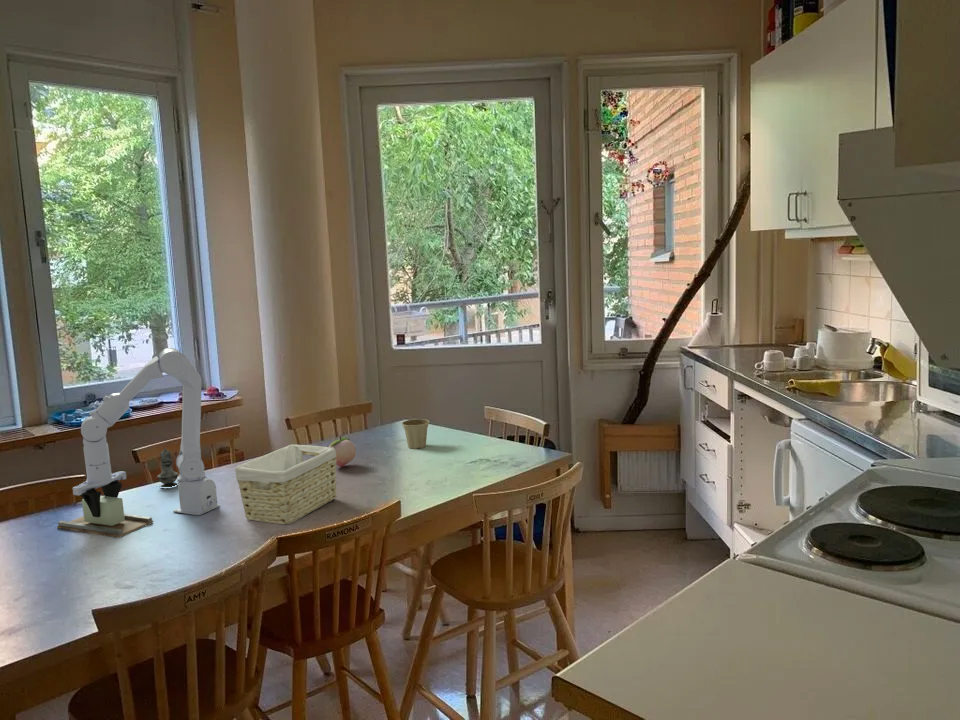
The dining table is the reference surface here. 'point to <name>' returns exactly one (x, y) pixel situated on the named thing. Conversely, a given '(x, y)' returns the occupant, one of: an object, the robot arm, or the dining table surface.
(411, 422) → the flower pot
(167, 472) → the grey tall carved piece
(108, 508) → the pale green block
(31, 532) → the dining table surface
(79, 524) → the floor track
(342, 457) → the decorative fruit
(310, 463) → the storage basket
